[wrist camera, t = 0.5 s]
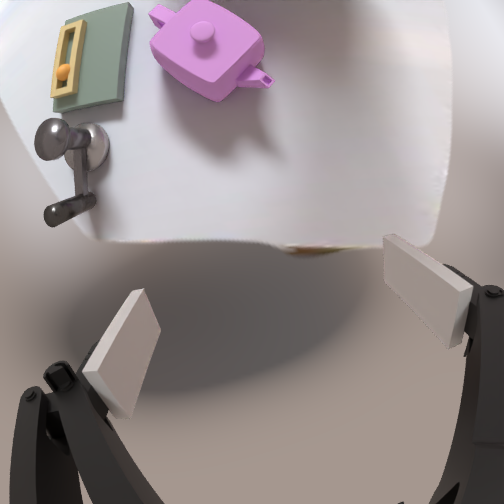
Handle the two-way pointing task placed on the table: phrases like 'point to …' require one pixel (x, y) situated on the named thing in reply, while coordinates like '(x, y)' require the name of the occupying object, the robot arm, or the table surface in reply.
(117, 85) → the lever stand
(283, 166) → the table surface
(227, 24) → the teapot
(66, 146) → the cam capstan
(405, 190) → the table surface
